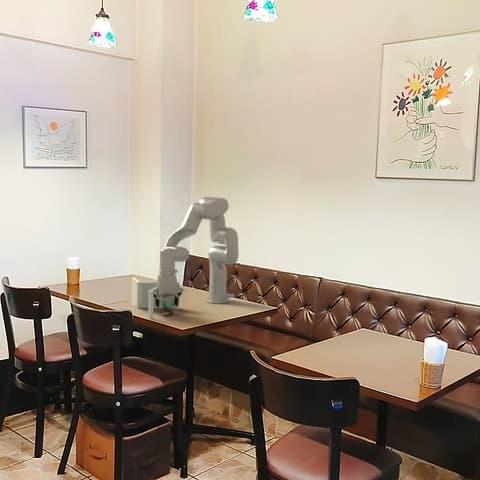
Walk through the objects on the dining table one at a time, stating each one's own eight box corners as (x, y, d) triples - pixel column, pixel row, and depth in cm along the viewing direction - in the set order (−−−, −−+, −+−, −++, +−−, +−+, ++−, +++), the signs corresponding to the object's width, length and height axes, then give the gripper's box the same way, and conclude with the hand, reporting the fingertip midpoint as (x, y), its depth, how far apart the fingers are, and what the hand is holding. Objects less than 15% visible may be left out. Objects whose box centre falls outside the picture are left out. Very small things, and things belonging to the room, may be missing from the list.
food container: (175, 316, 295) (174, 296, 294) (162, 316, 295) (161, 297, 293) (176, 310, 307) (175, 291, 306) (164, 310, 307) (163, 292, 306)
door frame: (134, 302, 323) (134, 277, 321) (153, 318, 290) (153, 290, 288) (131, 303, 322) (131, 277, 320) (149, 319, 289) (149, 290, 288)
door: (140, 306, 312) (141, 281, 311) (178, 306, 316) (179, 281, 314) (140, 307, 310) (141, 282, 308) (179, 307, 313) (179, 282, 311)
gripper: (181, 270, 305) (180, 303, 307) (148, 272, 297) (148, 305, 299) (186, 273, 298) (185, 306, 300) (152, 274, 291) (152, 308, 293)
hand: (166, 305), depth 300 cm, fingers open, 9 cm apart
